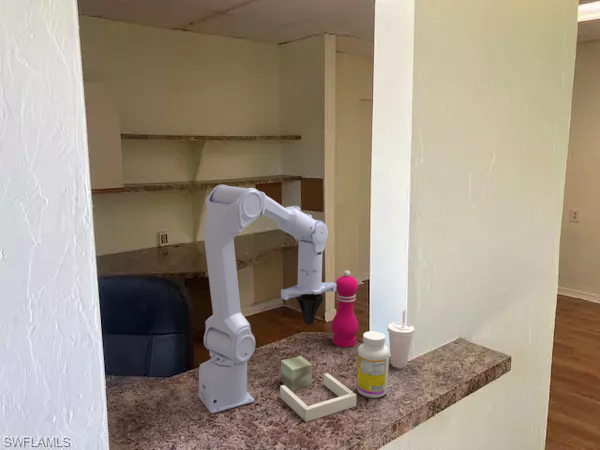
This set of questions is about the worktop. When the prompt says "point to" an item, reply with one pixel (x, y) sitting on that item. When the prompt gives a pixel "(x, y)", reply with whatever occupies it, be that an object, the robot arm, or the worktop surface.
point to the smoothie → (400, 342)
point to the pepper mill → (345, 312)
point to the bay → (323, 408)
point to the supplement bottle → (372, 365)
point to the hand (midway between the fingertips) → (308, 323)
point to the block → (296, 373)
